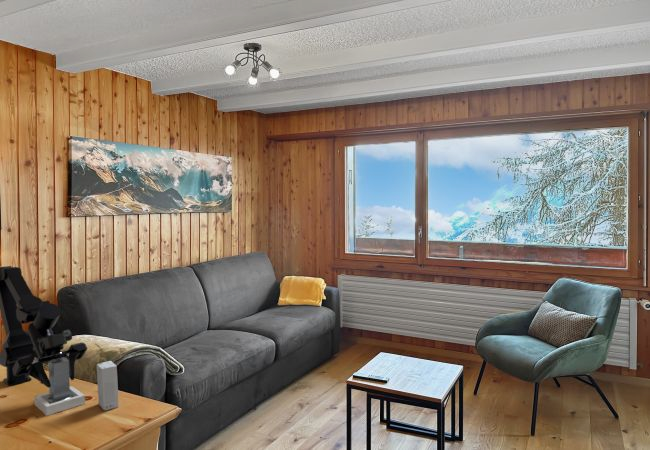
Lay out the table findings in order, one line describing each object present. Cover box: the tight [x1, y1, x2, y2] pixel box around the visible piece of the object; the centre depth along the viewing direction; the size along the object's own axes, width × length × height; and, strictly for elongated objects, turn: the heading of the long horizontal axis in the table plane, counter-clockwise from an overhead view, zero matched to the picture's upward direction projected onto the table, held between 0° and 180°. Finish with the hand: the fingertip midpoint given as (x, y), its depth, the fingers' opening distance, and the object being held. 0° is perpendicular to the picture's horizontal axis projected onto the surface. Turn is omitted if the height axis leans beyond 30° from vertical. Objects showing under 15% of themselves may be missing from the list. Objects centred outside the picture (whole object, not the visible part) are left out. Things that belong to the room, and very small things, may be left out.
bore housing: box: [34, 385, 86, 417], centre depth 133 cm, size 10×10×2 cm
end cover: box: [48, 357, 72, 404], centre depth 133 cm, size 6×6×13 cm
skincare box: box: [96, 360, 120, 411], centre depth 132 cm, size 6×4×12 cm
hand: (61, 383), depth 132 cm, fingers open, 6 cm apart
